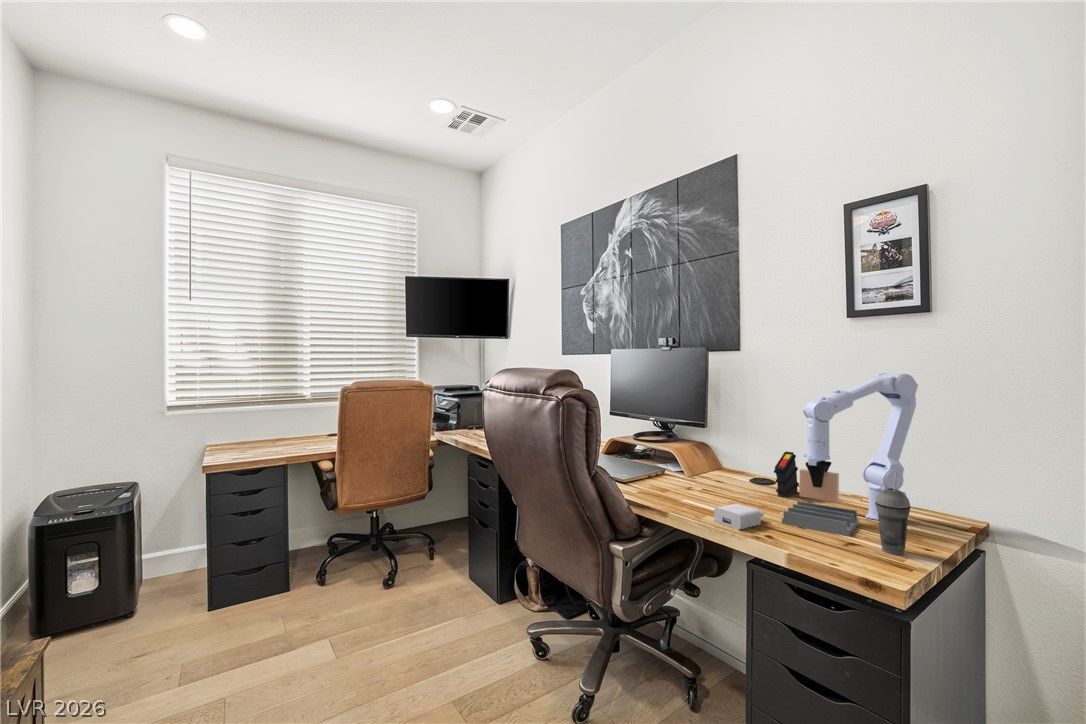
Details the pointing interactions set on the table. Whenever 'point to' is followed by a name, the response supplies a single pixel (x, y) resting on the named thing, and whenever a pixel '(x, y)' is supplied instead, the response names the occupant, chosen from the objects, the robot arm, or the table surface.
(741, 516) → the charger
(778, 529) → the table surface
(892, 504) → the beverage cup
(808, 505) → the rack
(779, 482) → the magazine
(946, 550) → the table surface
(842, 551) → the table surface
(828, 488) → the plate
